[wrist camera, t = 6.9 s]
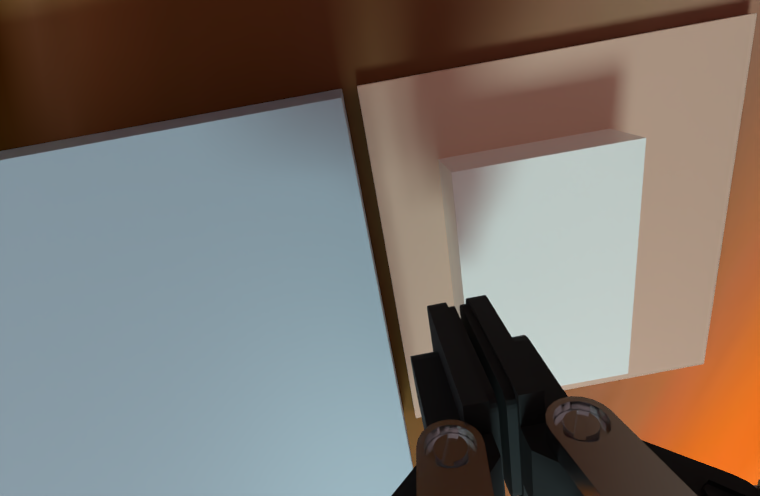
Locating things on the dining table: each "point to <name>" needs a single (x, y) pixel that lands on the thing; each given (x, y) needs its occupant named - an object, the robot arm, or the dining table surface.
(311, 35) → the dining table surface
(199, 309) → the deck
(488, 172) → the tile
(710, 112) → the mat
